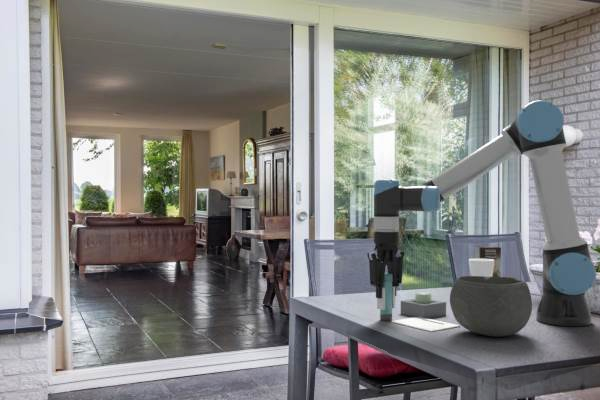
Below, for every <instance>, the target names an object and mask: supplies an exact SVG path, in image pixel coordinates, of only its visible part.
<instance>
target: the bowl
mask: <svg viewBox="0 0 600 400" xmlns="http://www.w3.org/2000/svg"><path fill="white" fill-rule="evenodd" d="M532 302H533V300H532V294H531V291H530V287H529V285H528V283H527V282H526V281H525V280H524V279H520V278H517V277H513V276H512V277H511V276H508V277H507V276H501V277H485V276H471V275H468V276H467V275H466V276H457V277H456V279H455V280H454V282H453V284H452V287H451V290H450V294H449V304H450V309H451V311H452V315H453V317H454V319H455V321H456V322H457V323H458V325H460V326H462V328H465V330H468V331H470V332H473V333H476V334H479V335H483V336H487V337H495V338H496V337H497V338H499V337H501V338H502V337H509V336H512V335H515V334H517V333H519V332H520V331H521V330H522V329H524V328H525V327H526V325H527V324H528V322H529V321H530V318H531V316H532V310H533V303H532Z"/></svg>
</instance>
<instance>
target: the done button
mask: <svg viewBox="0 0 600 400" xmlns="http://www.w3.org/2000/svg"><path fill="white" fill-rule="evenodd" d="M414 295H415V297H414V299H415V302H417V303H422V304H426V303H431V300H432V293H431V292H421V291H420V292H419V291H418V292H415V294H414Z"/></svg>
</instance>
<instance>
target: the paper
mask: <svg viewBox="0 0 600 400" xmlns="http://www.w3.org/2000/svg"><path fill="white" fill-rule="evenodd" d="M390 323H393V324H397V325H401V326H406V327H410V328H412V329H418V330H422V331H425V332H430V333H433V332H437V331H438V332H439V331H444V330H449V329H454V328H460V327H461V325H460V324H455V323H449V322H446V321H440V320H436V319H432V318H424V317H415V316H412V317H409V318H408V317H407V318H401V319H396V320H392V321H390Z"/></svg>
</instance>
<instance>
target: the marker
mask: <svg viewBox="0 0 600 400" xmlns="http://www.w3.org/2000/svg"><path fill="white" fill-rule="evenodd" d="M392 281H393V274H392V273H388V272H385V275H384V283H383V288H385V310H382V309H379V321H382V322H391V321H393V308H392Z"/></svg>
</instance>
